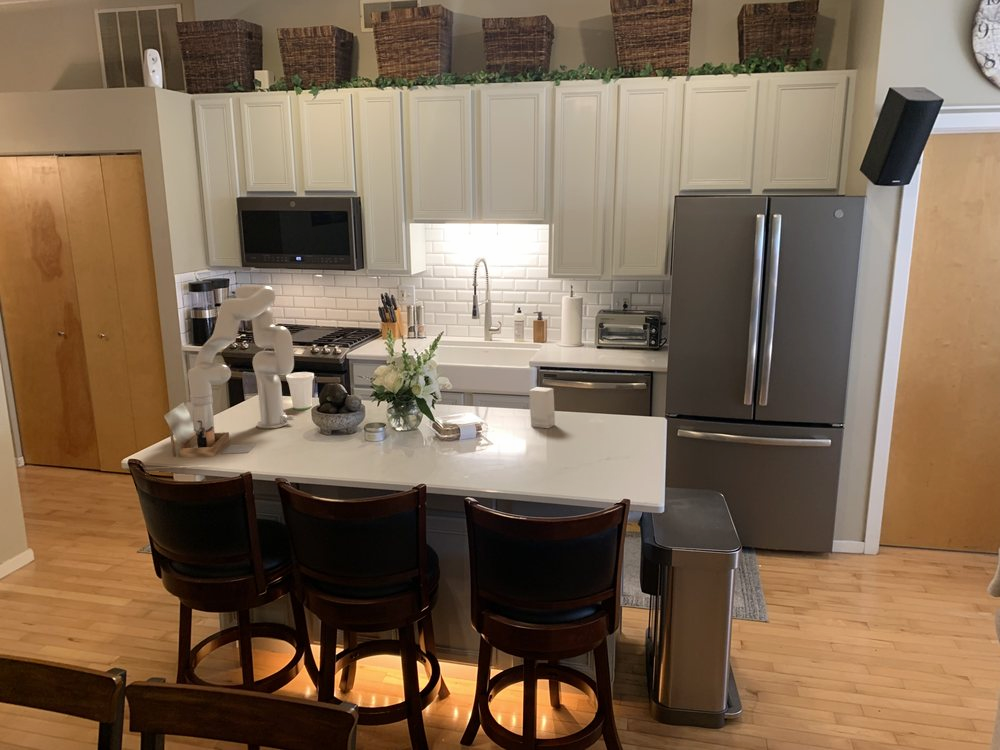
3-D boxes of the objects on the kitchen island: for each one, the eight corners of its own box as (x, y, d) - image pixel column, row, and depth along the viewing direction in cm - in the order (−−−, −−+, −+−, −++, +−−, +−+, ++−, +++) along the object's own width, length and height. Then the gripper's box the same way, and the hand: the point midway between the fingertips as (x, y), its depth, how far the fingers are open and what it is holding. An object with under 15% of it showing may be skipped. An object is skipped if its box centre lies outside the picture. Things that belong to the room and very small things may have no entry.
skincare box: (555, 425, 308) (555, 388, 305) (547, 429, 303) (547, 391, 300) (537, 422, 313) (537, 386, 309) (529, 426, 307) (528, 389, 304)
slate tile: (255, 445, 291) (255, 444, 291) (248, 453, 281) (248, 452, 281) (228, 446, 290) (228, 445, 290) (221, 454, 280) (220, 453, 280)
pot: (217, 445, 291) (215, 427, 289) (212, 450, 285) (210, 432, 283) (201, 446, 291) (199, 428, 289) (196, 450, 285) (194, 432, 283)
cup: (315, 410, 341) (312, 377, 338) (286, 411, 340) (284, 378, 337) (317, 403, 353) (315, 371, 350) (290, 404, 352) (287, 372, 349)
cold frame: (229, 440, 298) (225, 400, 294) (213, 456, 278) (209, 414, 275) (187, 442, 297) (182, 402, 293) (168, 458, 278) (163, 415, 274)
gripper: (199, 394, 292) (204, 437, 296) (183, 406, 275) (188, 451, 279) (219, 394, 292) (223, 436, 296) (204, 405, 275) (209, 450, 279)
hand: (206, 443), depth 287 cm, fingers open, 9 cm apart
